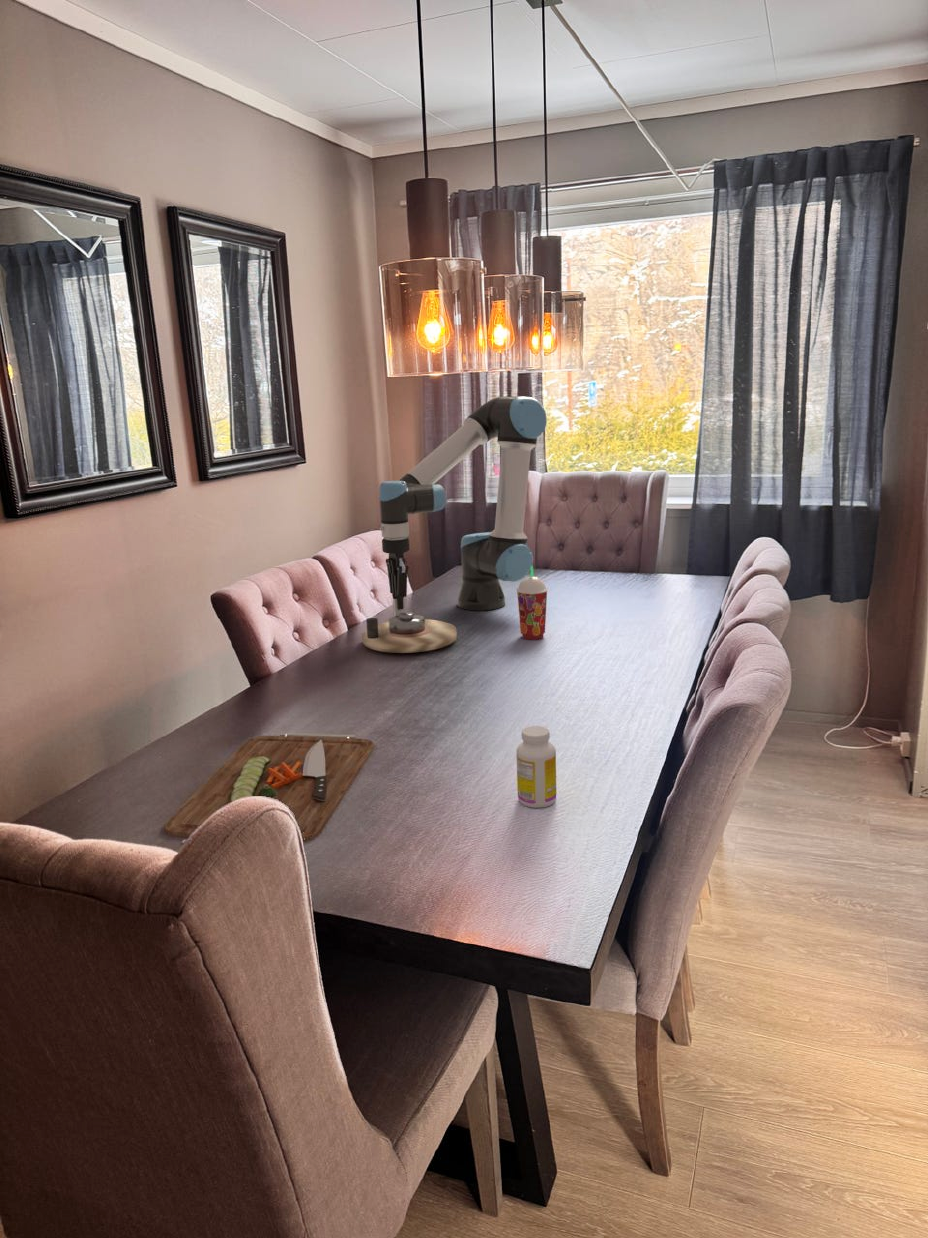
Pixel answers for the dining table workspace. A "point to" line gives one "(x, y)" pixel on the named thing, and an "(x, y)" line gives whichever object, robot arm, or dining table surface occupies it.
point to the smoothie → (532, 607)
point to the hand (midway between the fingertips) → (399, 619)
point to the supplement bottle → (536, 768)
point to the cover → (406, 624)
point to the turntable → (408, 637)
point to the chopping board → (281, 779)
